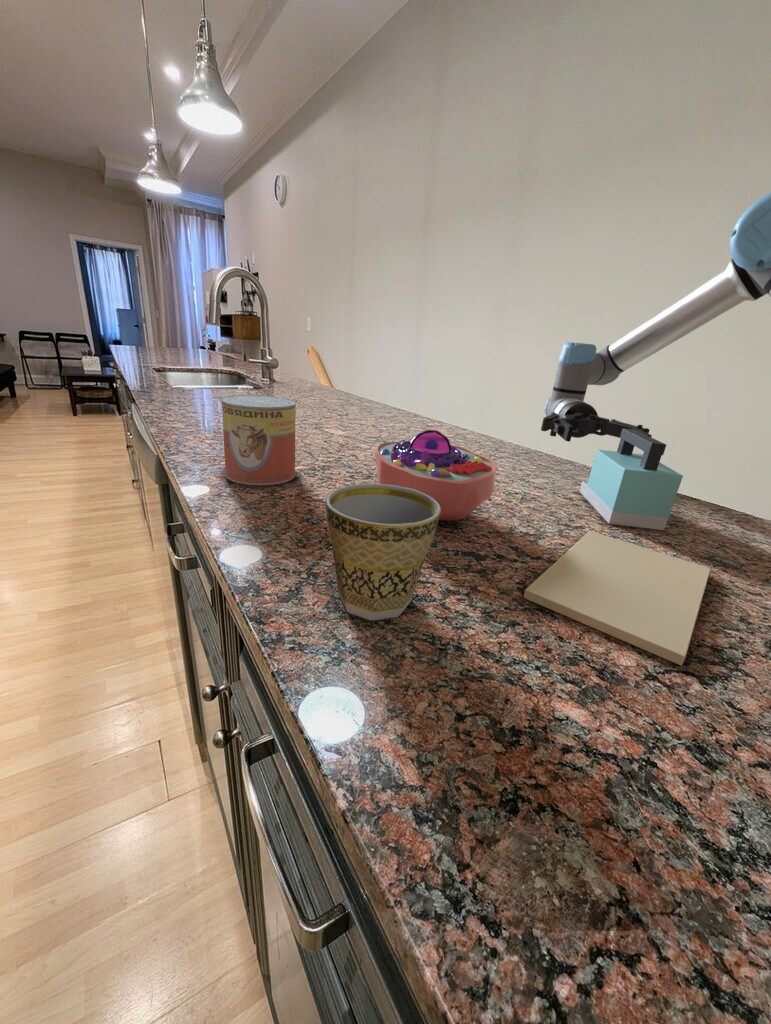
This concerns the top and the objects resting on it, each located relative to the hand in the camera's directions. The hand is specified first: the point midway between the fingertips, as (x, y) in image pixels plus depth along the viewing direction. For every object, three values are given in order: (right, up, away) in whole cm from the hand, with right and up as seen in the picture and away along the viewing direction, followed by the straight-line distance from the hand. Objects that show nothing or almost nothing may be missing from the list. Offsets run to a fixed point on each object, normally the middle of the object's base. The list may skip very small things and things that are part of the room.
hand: (608, 438), depth 80 cm
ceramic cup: (-41, -21, -37) cm, 59 cm away
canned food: (-61, -7, -6) cm, 62 cm away
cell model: (-34, -13, -16) cm, 40 cm away
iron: (-2, -13, -7) cm, 14 cm away
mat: (-14, -21, -31) cm, 40 cm away
